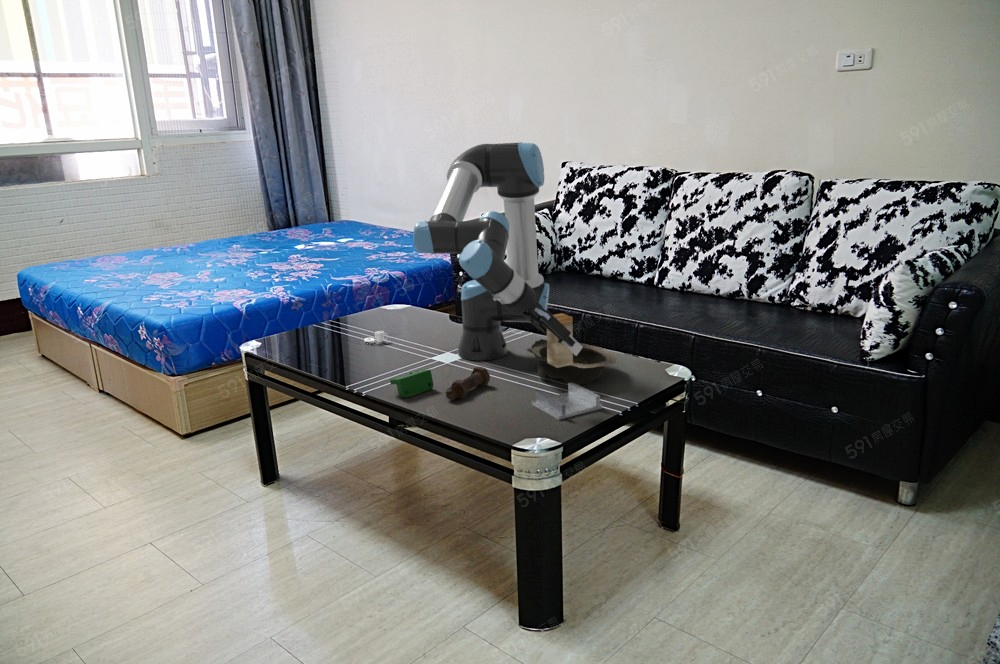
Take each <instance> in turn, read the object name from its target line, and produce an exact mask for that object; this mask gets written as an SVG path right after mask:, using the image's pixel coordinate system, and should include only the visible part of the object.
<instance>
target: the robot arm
mask: <svg viewBox="0 0 1000 664" xmlns="http://www.w3.org/2000/svg"><path fill="white" fill-rule="evenodd" d="M544 167H545V166H544V161H543V156H542V152H541V150H540V147H539V146H538V145H537V144H535V143H533V142H532V143H531V142H520V141H519V142H508V143H507V142H506V143H505V142H504V143H481V144H477V145H474V146H472V147H470V148H468V149H467V150H465V151H463V152H462V153H461V154H460V155H458V156H457V157H456V158H455V159H454V160H453V162H452V163H451V164H450V166H449V169H448V171H447V174H446V181H447V182H446V184H445V186H444V188H443V190H442V193H441V195H440V197H439V200H438V201H437V203H436V206H435V208H434V210H433V213H432V215H431V217H430V218H429V220H428V221H427V220H424V221H419V222H416V223H415V225H414V227H413V231H412V232H413V234H412V236H413V237H412V238H413V239H412V240H413V245H414V249H415V250H416V251H417V252H418V253H419V254H431V255H434V254H435V255H437V254H439V255H440V254H441V255H442V254H446V255H447V254H458V255H459V254H460V255H459V258H458V262H459V265H460V267H461V268H462V269H463V270H464V272H466V273H467V274H468V276H469V277H470V278H472V280H469V281H466V282H465V283H464V284H463V285H462V286H461V293H460V294H461V296H460V301H461V314H462V334H461V337H460V340H459V344H458V346H457V348H458V349H457V350H458V352H457V353H458V356H459V357H460V358H462V359H465V360H468V361H490V360H491V361H492V360H497V359H500V358H503V357H505V356H506V355H507V354H508V345H507V341H506V339H505V337H504V334H503V331H502V327H501V322H503V323H504V322H508V323H513V322H515V323H531V324H532V326H534V327H535V328H536V329H537V330H538V331H539V332H541V331H542V333H543V334H544V335H547V329H548V330H549V331H550V332H552V333H553V334H554V335H555V336H556V337H557V338H559V341H558V342H559V343H560V344H561V343H562V344H563V345H564V346H566V347H567V348H568V349H569V350H570V351H571V352H572V353H573V354H574V355H576V356H577V355H578V353H579V352H580V351H581V349H582V348H583V347H582V346H581V345H580V344H579V343H580V342H578V341H577V340H576V339H575V338H574V337H572V336H571V335H570V334H571V332H570V331H569V330H568V329H567V328H566V327H565V326H564V325H562V324H561V323H560V322H559V321H558V320H557V319H556V318H555V317H554V316H553V315H554V314H552V312H551V311H550V310H549V309H548V304H549V296H550V284H549V283H546V282H545V280H544V276H543V275H542V274H541V273H539V262H538V246H537V227H536V208H535V207H536V205H535V197H536V196H537V195H538V194H539V192H540V187H543V186H544V184H545V168H544ZM480 188H496V189H497V195H498V196H499V197H500V198H501V199H503V207H504V209H503V210H504V214H503V213H500V212H497V211H494V210H493V211H487V212H485V213H483V214H482V215H481V216H480V217H479V219H478V220H476V221H475V220H474V221H472V220H471V221H470V220H464V218H465V216H466V214H467V211H468V209H469V207H470V203H471V201H472V199H473V196H474V194H475V193H477V192H478V191H479V189H480ZM506 249H507V250H506ZM506 251H507V261H508V263H506V261H505V257H506Z"/></svg>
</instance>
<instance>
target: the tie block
mask: <svg viewBox="0 0 1000 664" xmlns="http://www.w3.org/2000/svg"><path fill="white" fill-rule="evenodd" d="M552 315H553V316H554V317H555V318H556V319H557V320H558V321H559V322H560V323H561V324H562V325H564V326H565V327H566V328H567V329H568V330H569V331H570V332H571V334H570V335H571V336H572V337H573V335H574V333H573V331H574V330H573V329H574V328H573V326H574V325H573V323H574V321H573V319H574V318H573V316H570V315H568V314H566V313H562V312H561V313H556V314H552ZM573 338H574V337H573ZM546 340H547V363H548V364H550V365H552V366H555V367H557V368H559V367H564V366H568V365H573V353H572V352H571V351H570V350H569V349H568V348H567V347H566V346H564V345H563V344H562V343H561V344H560V343H559V342H558V341H559V338H557V337H556V336H555V335H554V334H553V333H552V332H550V331H549V330H548V329H547V334H546Z"/></svg>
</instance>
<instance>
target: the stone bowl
mask: <svg viewBox="0 0 1000 664" xmlns="http://www.w3.org/2000/svg"><path fill="white" fill-rule="evenodd" d="M578 343H579V344H580V345H581V346H582V347H583V348H582V349H581V351H580V352H579V353H578V355H577V356H576V355H574V354H573V365H568V366H564V367H559V368H557V367H555V366H552V365H550V364H548V363H547V339H543V338H541V339H539V340H535V342H534V343H532V345H531V348H530V347H529V348H527V349H526V352H529V353H531V354H532V355H533V356H534V357H535V358H536V359H537V360H538V363H537V375H538V377H539V378H541V379H543V380H554V379H558V378H559V379H563V381H564V382H565V383H566V384H567V385H568V383H571V382H573V383H575V384H577V385H579V386H580V385H582V384H583V385H586V384H590V383H592V382H593V381H596V380H598V379H600V377H601V375H602V374H603V372H604V370H605V368H606V367H608V366H609V365H613V364H616V363H617V359H618V357H617V355H616V354H615V353H614V352H613V351H610V350H608V349H605V348H603V347H600V346H596V345H590V344H587V343H585V342H584V343H582V342H578Z"/></svg>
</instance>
